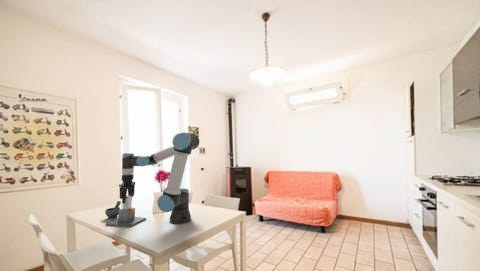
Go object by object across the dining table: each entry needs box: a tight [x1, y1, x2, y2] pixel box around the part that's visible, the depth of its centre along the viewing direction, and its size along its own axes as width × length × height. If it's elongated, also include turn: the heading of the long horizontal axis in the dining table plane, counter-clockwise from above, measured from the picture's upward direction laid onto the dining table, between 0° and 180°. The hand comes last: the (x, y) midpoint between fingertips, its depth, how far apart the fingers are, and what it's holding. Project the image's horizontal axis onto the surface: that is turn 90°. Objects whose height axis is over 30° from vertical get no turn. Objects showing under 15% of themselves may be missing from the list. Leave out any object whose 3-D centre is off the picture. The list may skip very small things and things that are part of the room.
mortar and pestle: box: [104, 200, 122, 221], centre depth 163 cm, size 11×9×12 cm
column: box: [121, 194, 133, 210], centre depth 153 cm, size 5×4×17 cm
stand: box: [105, 207, 147, 228], centre depth 152 cm, size 20×16×10 cm
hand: (126, 206), depth 153 cm, fingers closed on column, 4 cm apart
